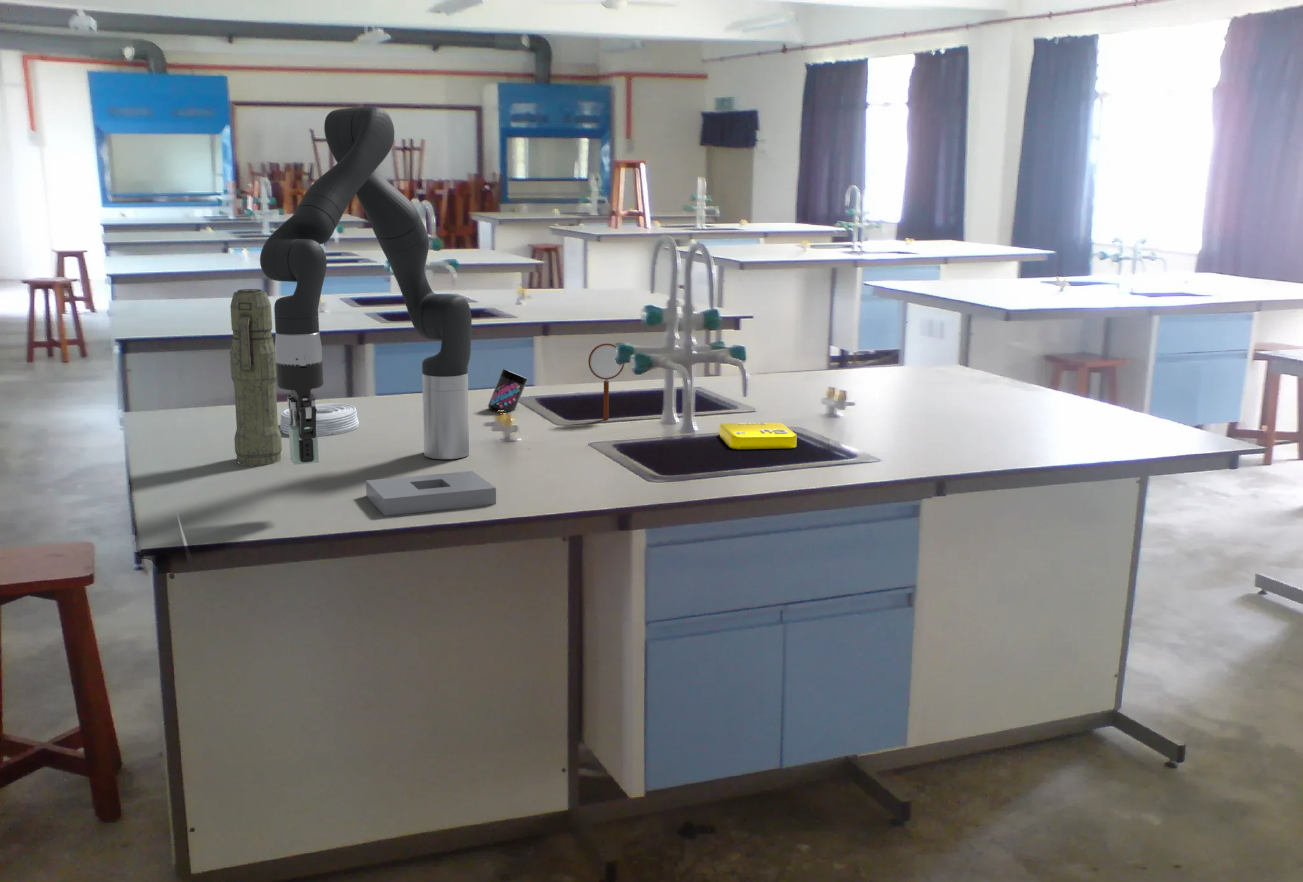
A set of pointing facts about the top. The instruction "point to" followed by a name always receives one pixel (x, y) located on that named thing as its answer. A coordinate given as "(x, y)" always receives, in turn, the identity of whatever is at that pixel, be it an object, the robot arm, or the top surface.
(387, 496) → the socket box
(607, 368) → the magnifying glass
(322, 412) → the cable
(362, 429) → the top surface
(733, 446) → the element tile
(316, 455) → the block
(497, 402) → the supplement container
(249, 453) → the thermos
